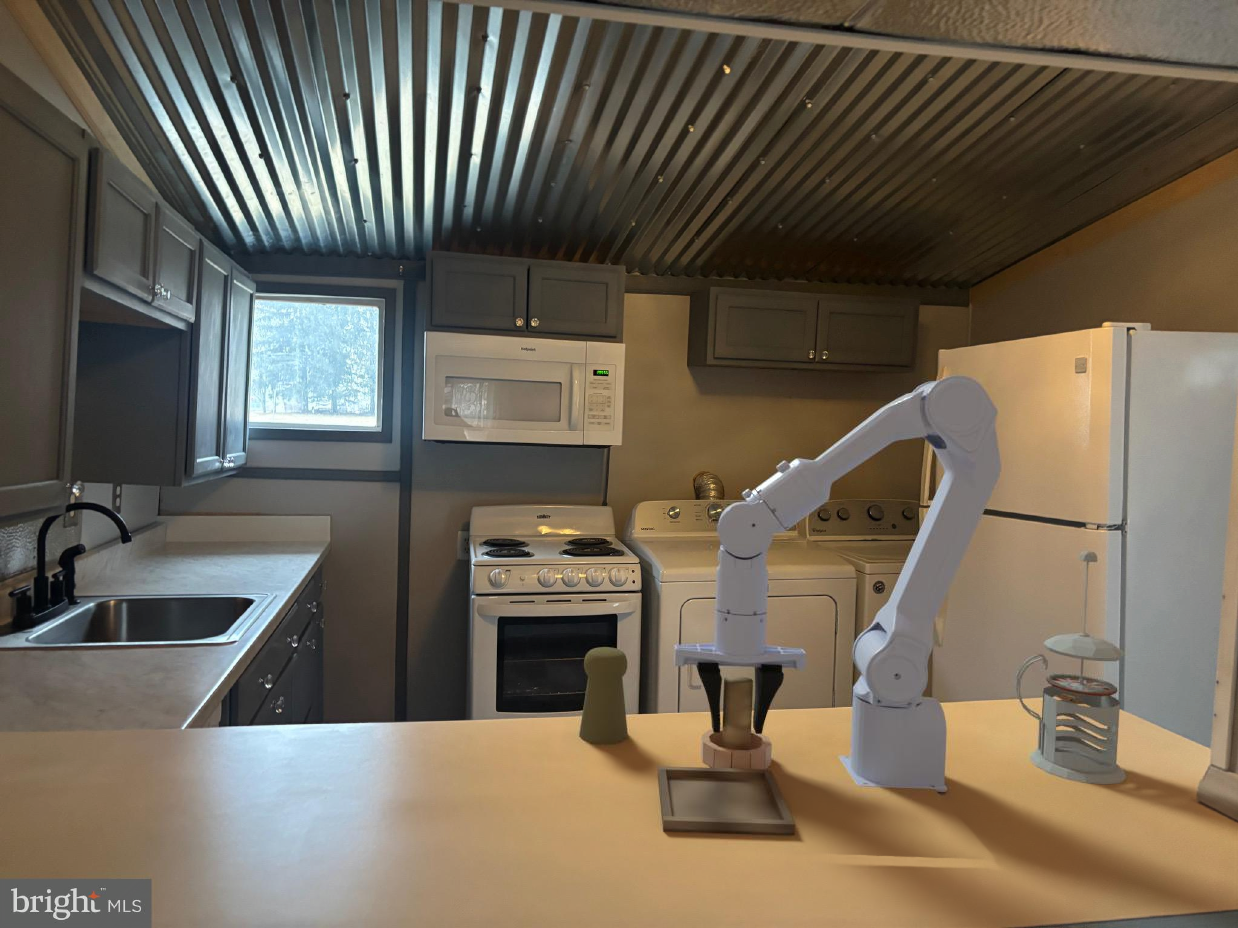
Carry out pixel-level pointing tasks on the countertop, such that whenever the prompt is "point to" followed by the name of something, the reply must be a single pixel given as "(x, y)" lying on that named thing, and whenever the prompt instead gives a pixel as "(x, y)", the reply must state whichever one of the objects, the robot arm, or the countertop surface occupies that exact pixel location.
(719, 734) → the pink round piece
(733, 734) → the dowel pin
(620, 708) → the olive green pawn
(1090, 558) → the french press
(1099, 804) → the countertop surface
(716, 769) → the walnut tray
